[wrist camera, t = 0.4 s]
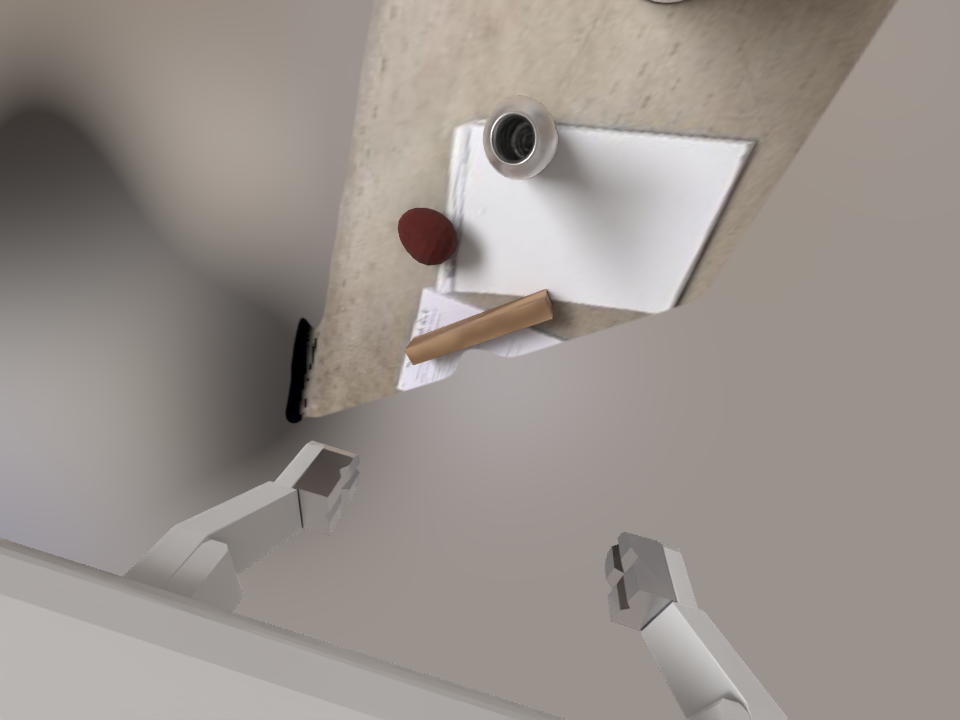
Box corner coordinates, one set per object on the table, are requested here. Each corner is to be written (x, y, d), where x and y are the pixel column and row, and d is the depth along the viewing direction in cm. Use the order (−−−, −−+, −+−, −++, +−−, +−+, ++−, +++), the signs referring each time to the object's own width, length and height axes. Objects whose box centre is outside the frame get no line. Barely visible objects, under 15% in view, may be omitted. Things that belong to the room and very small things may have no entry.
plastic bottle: (536, 182, 46) (524, 204, 30) (493, 150, 45) (455, 153, 29) (569, 132, 43) (576, 124, 26) (523, 96, 42) (500, 64, 25)
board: (413, 337, 62) (404, 350, 58) (546, 288, 53) (545, 299, 49) (422, 352, 63) (413, 365, 59) (552, 306, 54) (552, 318, 51)
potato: (417, 192, 50) (398, 198, 44) (470, 224, 51) (459, 234, 45) (399, 239, 54) (379, 251, 48) (449, 268, 54) (435, 283, 49)
